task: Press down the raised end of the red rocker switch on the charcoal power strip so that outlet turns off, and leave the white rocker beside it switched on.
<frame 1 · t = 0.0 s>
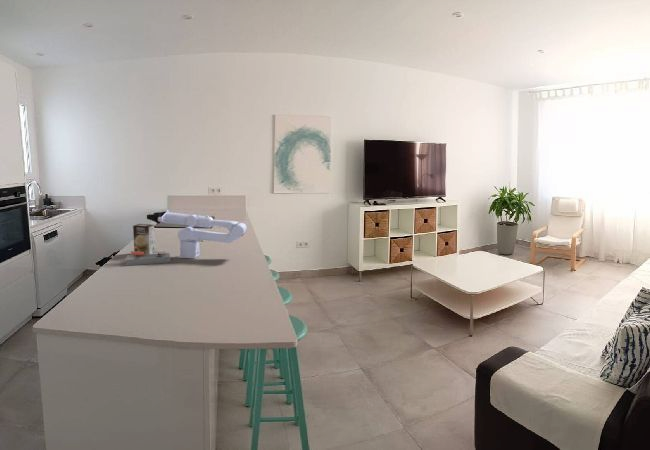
hand: (150, 215, 212), 22 cm above the table, tool horizontal, fingers open, 7 cm apart
red rocker: (137, 253, 202), point 4 cm above the table, hinge at -10.0°
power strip: (148, 261, 203), on the table
coffee box: (144, 254, 220), on the table
white rocker: (158, 251, 206), point 4 cm above the table, hinge at -10.0°
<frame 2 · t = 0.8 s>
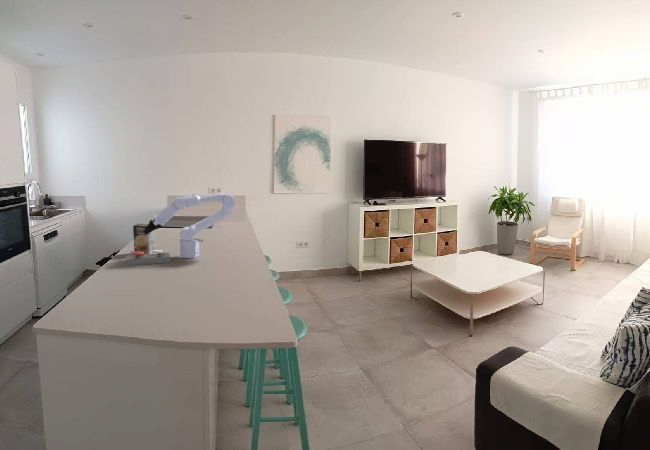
hand: (146, 232, 208), 14 cm above the table, tool tilted 50°, fingers open, 7 cm apart
nothing on the table moved.
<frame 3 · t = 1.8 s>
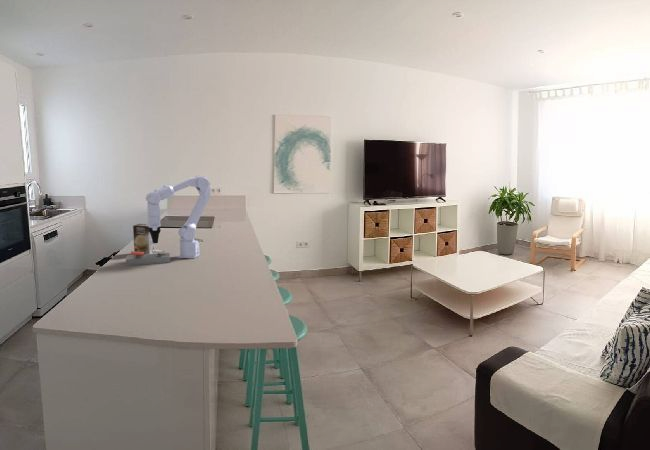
hand: (155, 242, 205), 9 cm above the table, tool pointing down, fingers open, 5 cm apart
nothing on the table moved.
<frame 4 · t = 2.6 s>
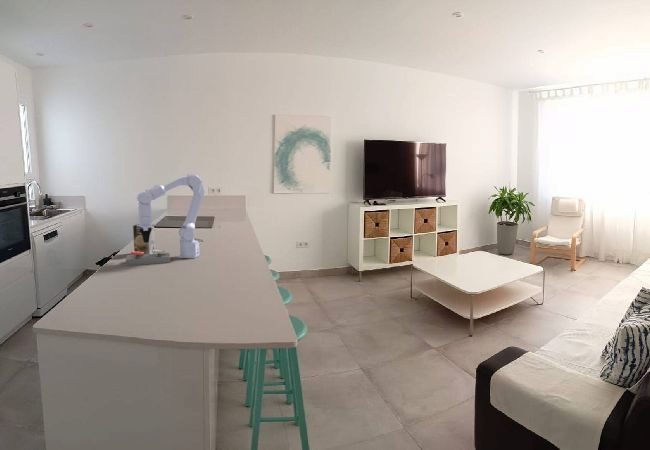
hand: (146, 242, 203), 10 cm above the table, tool pointing down, fingers closed
nothing on the table moved.
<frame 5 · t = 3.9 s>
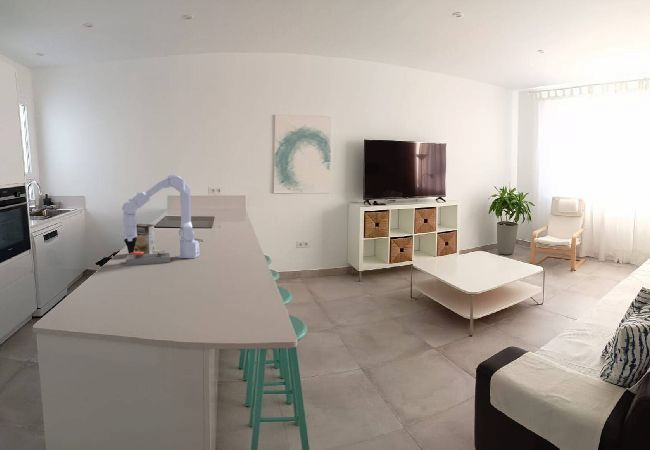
hand: (131, 252, 201), 5 cm above the table, tool pointing down, fingers closed, pressing on red rocker
red rocker: (137, 253, 202), point 4 cm above the table, hinge at -8.6°, touching gripper
everything else where it was.
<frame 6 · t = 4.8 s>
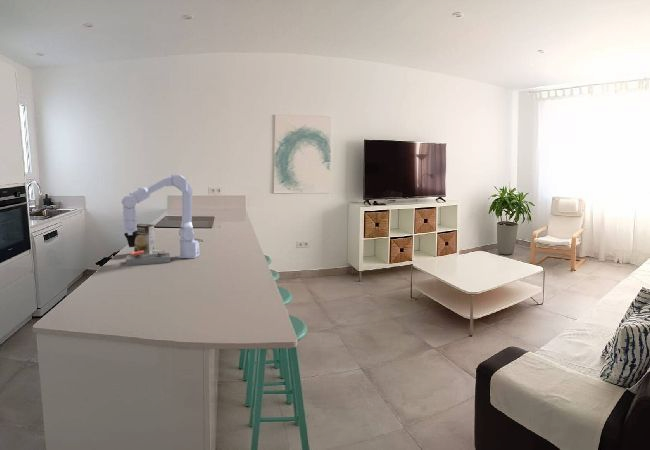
hand: (131, 246, 201), 8 cm above the table, tool pointing down, fingers closed
red rocker: (137, 253, 202), point 4 cm above the table, hinge at 6.8°
everything else where it was.
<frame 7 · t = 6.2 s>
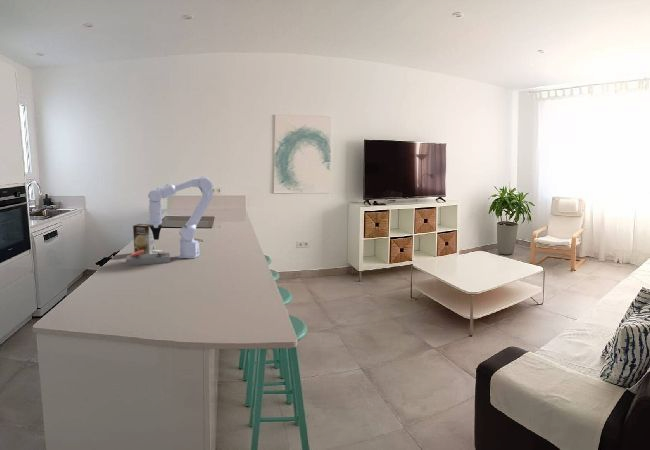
hand: (156, 239, 207), 10 cm above the table, tool pointing down, fingers closed
red rocker: (137, 253, 202), point 4 cm above the table, hinge at 19.2°, touching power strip
everything else where it was.
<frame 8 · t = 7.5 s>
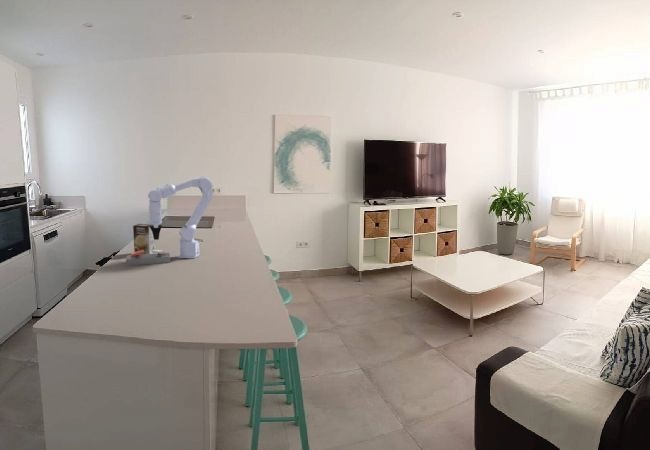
hand: (156, 239, 207), 10 cm above the table, tool pointing down, fingers closed
red rocker: (137, 253, 202), point 4 cm above the table, hinge at 15.1°
everything else where it was.
at the end: red rocker at +15° (first picture: -10°); white rocker at -10° (first picture: -10°); coffee box moved 0.2 cm from its start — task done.
